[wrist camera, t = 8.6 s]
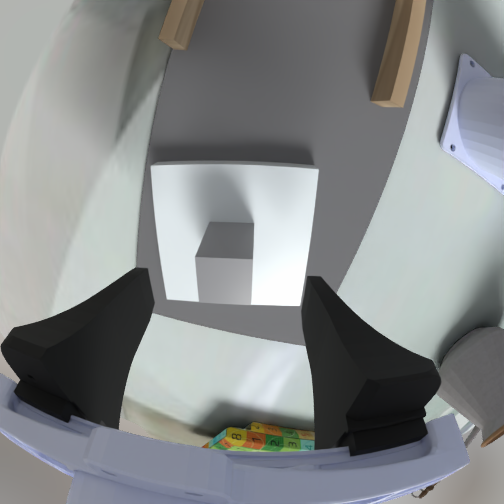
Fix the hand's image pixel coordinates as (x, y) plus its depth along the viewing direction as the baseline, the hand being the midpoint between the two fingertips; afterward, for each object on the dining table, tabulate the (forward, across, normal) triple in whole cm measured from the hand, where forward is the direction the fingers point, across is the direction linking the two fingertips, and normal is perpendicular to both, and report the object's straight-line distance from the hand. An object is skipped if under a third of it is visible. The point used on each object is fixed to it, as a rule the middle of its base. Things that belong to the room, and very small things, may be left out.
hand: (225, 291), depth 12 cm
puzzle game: (+6, -6, +32) cm, 33 cm away
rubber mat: (+6, -2, -6) cm, 9 cm away
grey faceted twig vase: (+6, -26, +18) cm, 33 cm away
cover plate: (+6, 0, 0) cm, 6 cm away
